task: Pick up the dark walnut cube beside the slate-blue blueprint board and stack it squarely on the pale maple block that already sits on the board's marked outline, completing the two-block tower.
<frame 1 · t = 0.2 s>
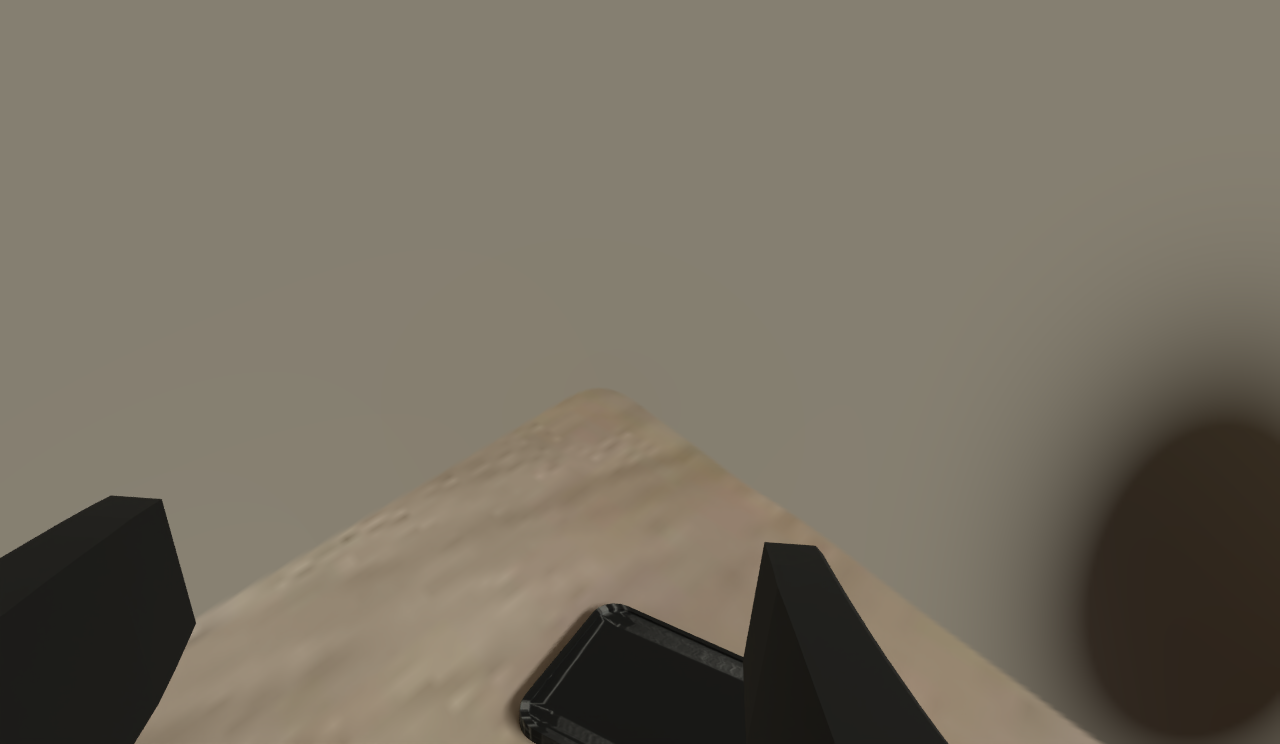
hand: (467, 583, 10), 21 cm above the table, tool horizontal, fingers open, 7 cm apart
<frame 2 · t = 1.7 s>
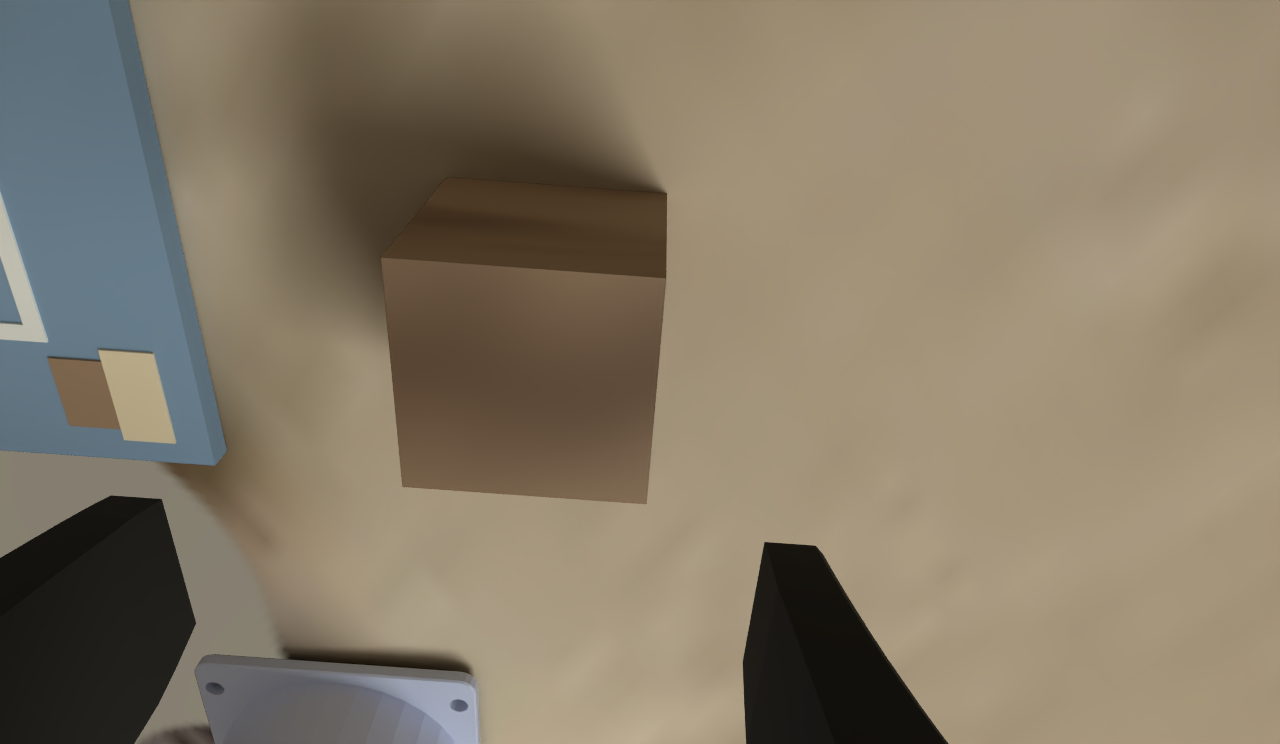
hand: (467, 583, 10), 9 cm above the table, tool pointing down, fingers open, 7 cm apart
walnut block: (555, 285, 18), on the table
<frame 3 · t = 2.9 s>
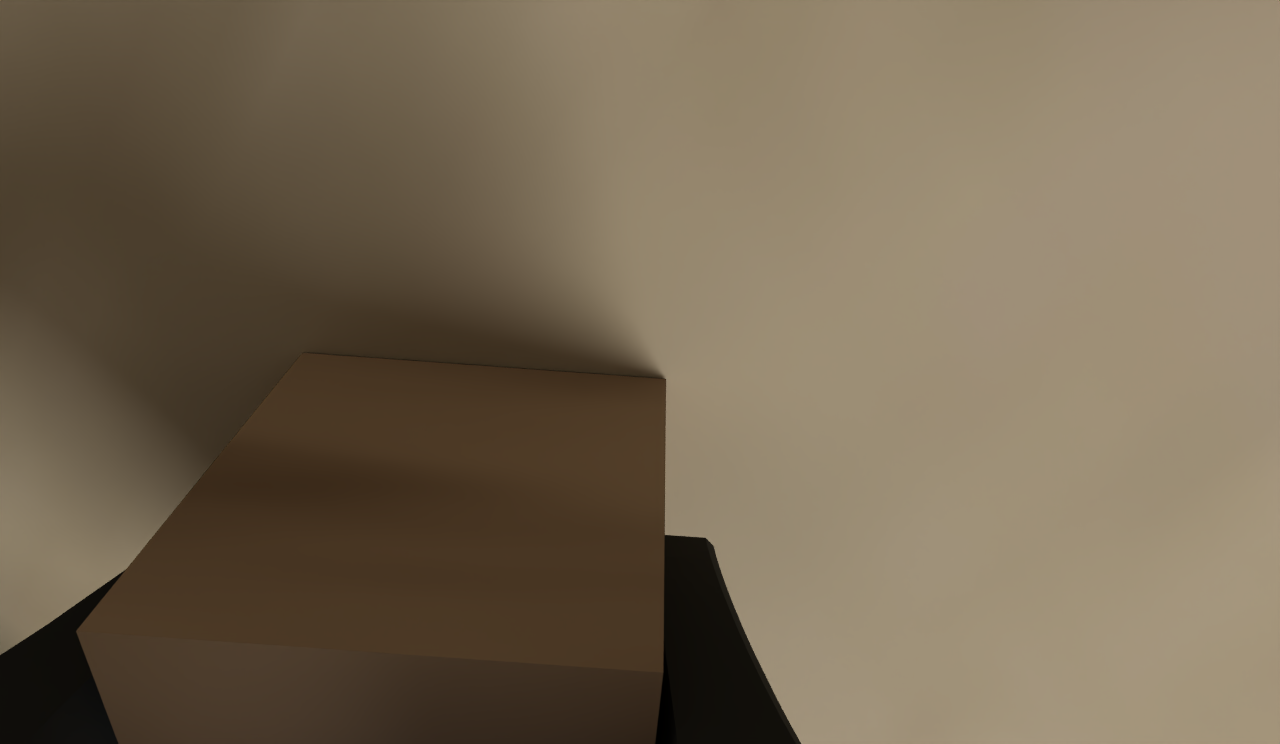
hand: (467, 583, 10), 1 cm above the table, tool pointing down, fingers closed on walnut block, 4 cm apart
walnut block: (488, 509, 11), on the table, touching gripper
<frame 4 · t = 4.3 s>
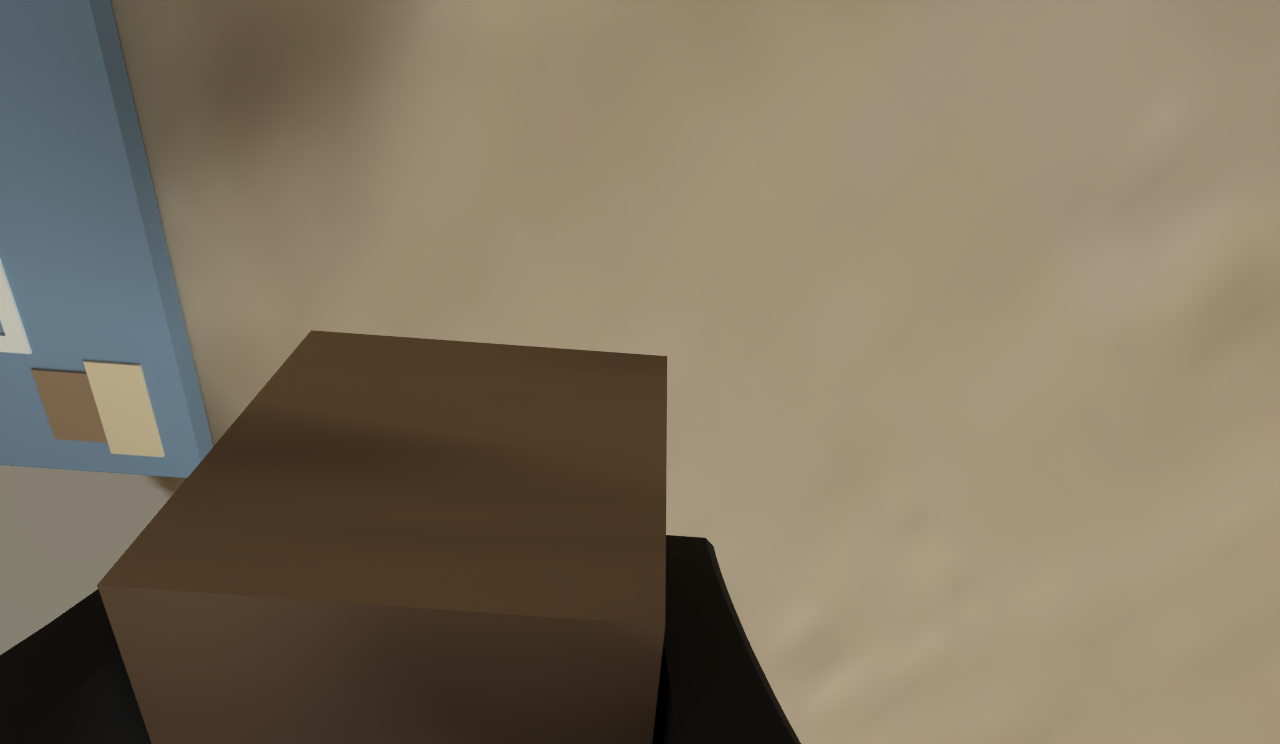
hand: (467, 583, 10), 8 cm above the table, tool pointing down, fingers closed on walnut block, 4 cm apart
walnut block: (493, 486, 12), point 7 cm above the table, touching gripper
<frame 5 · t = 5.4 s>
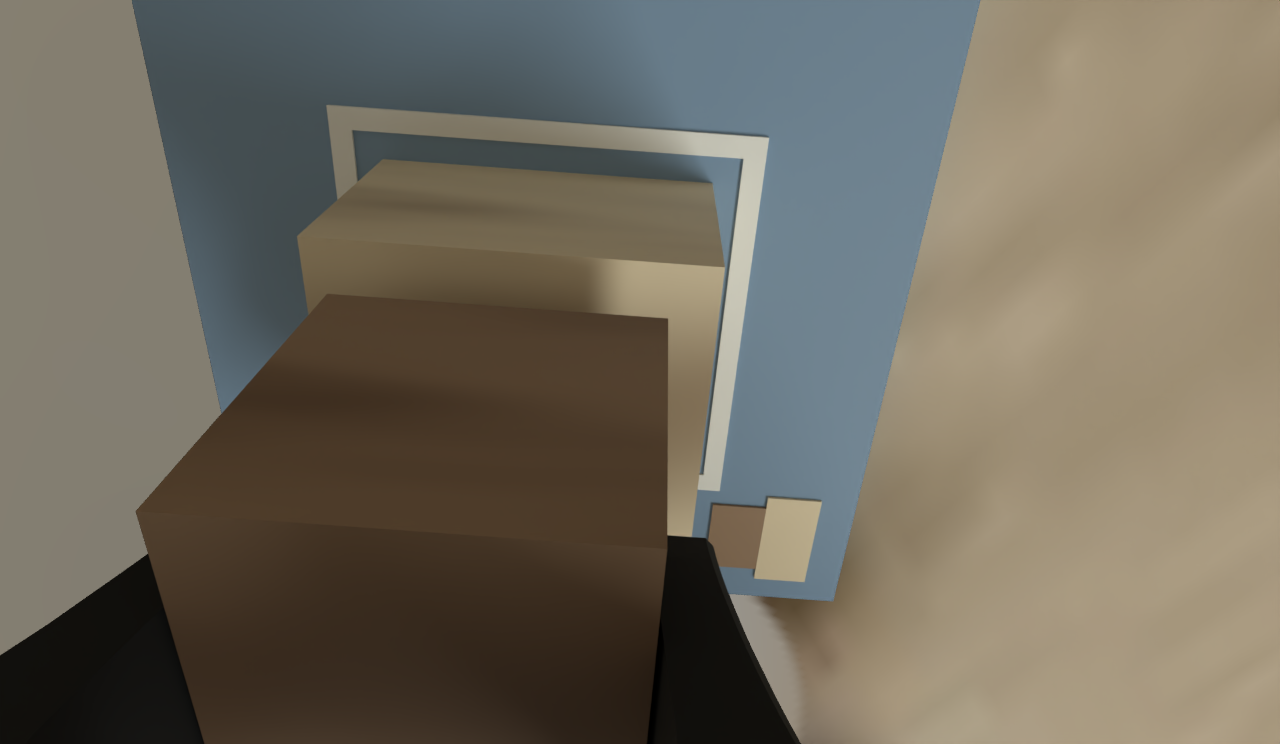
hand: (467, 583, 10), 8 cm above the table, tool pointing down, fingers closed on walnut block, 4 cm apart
maple base block: (546, 319, 17), point 1 cm above the table, touching blueprint board
blueprint board: (550, 306, 17), on the table
walnut block: (500, 446, 12), point 6 cm above the table, touching gripper
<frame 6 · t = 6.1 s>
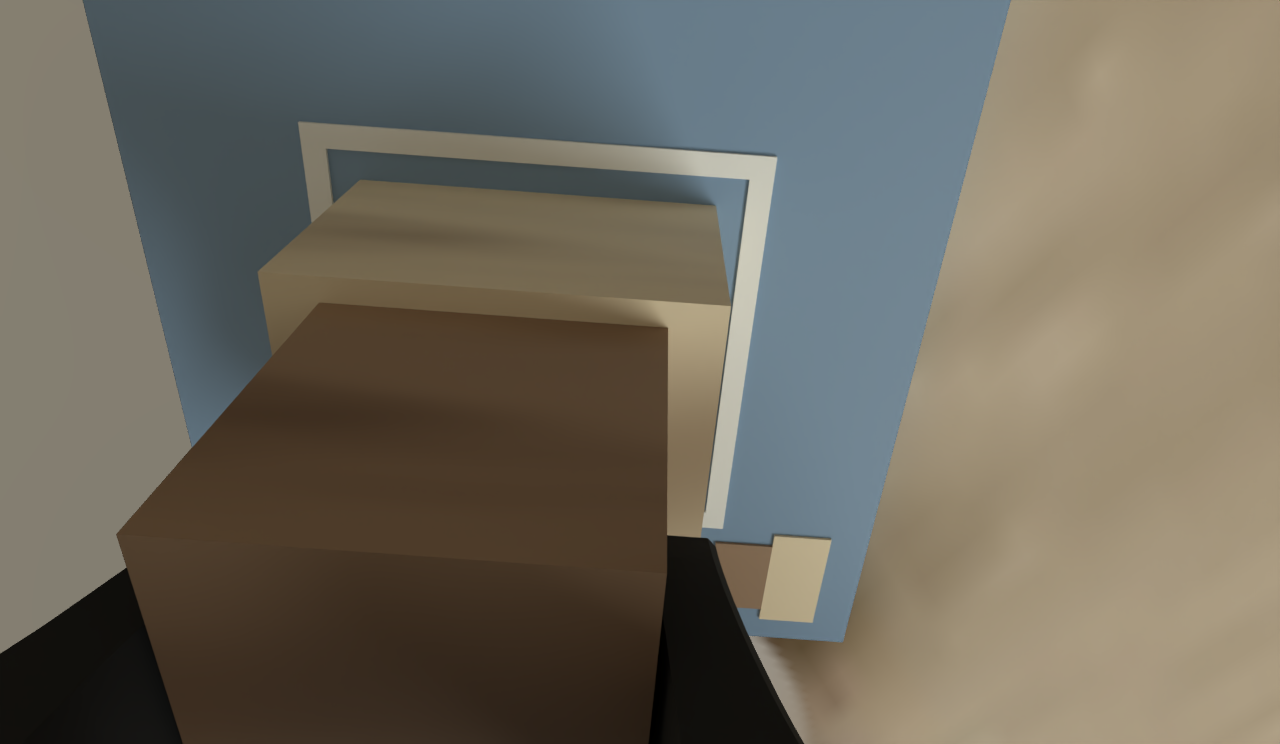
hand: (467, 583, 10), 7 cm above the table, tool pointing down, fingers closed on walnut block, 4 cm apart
maple base block: (537, 349, 15), point 1 cm above the table, touching blueprint board, walnut block
blueprint board: (541, 334, 16), on the table
walnut block: (497, 457, 12), point 5 cm above the table, touching gripper, maple base block
when the fingers open (7 cm above the table, at t = 6.1 s): walnut block stays where it is, resting on maple base block.
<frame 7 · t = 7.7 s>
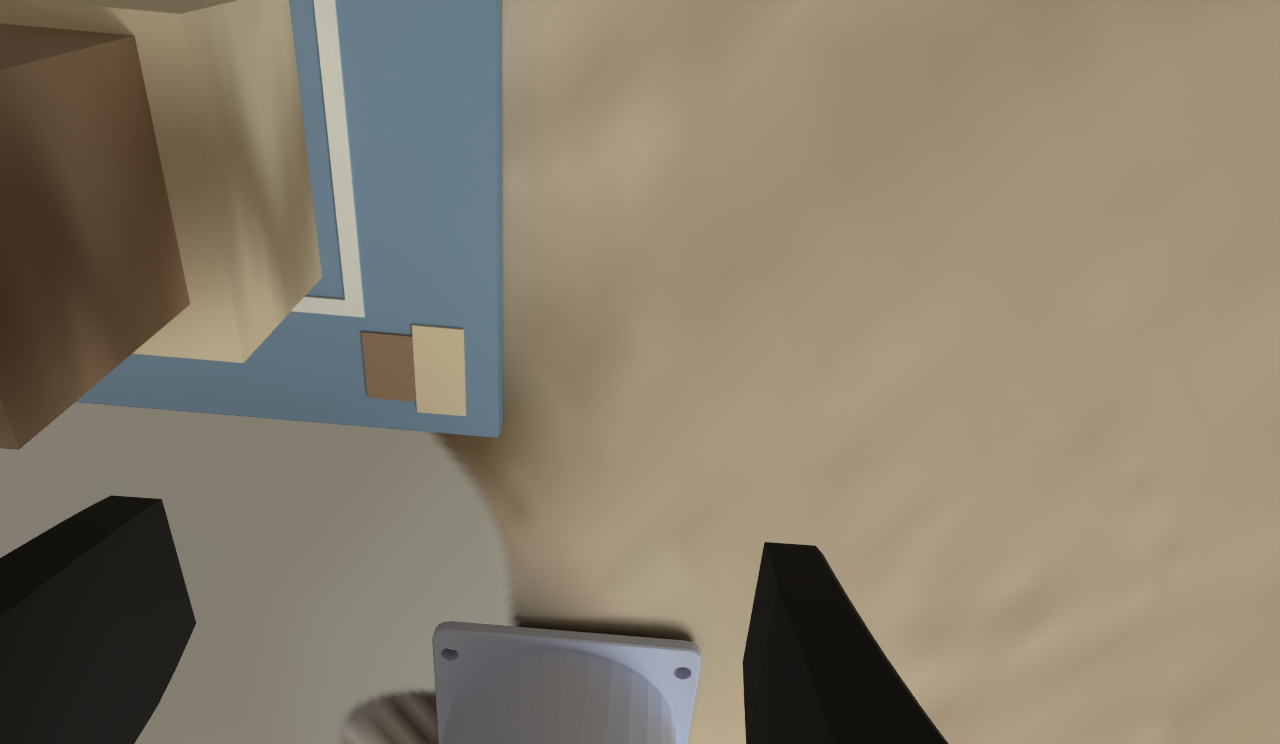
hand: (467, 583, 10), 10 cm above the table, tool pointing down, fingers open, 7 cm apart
maple base block: (162, 132, 17), point 1 cm above the table, touching blueprint board, walnut block
blueprint board: (177, 125, 18), on the table
walnut block: (27, 168, 14), point 5 cm above the table, touching maple base block
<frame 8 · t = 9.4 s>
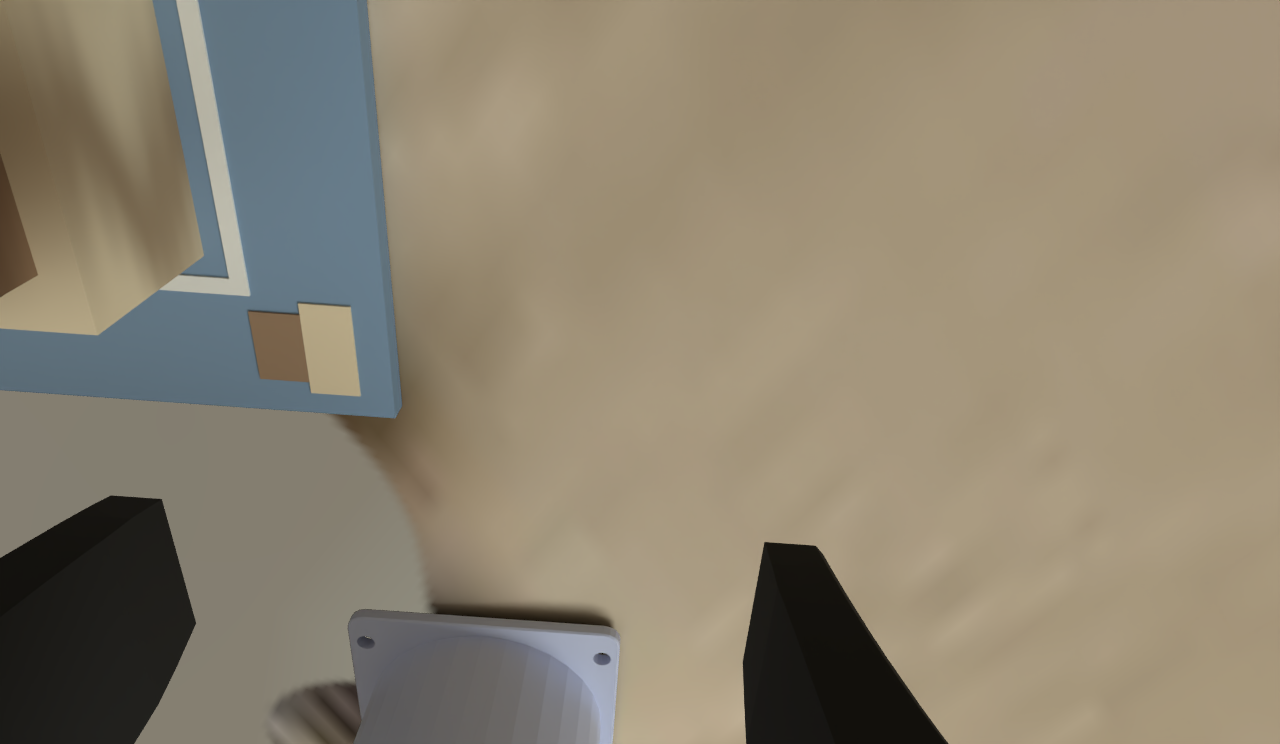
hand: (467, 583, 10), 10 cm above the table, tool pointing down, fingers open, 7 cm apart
maple base block: (32, 109, 17), point 1 cm above the table, touching blueprint board, walnut block
blueprint board: (50, 103, 18), on the table
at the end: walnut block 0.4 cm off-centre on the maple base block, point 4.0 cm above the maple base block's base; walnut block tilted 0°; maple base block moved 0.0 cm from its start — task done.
